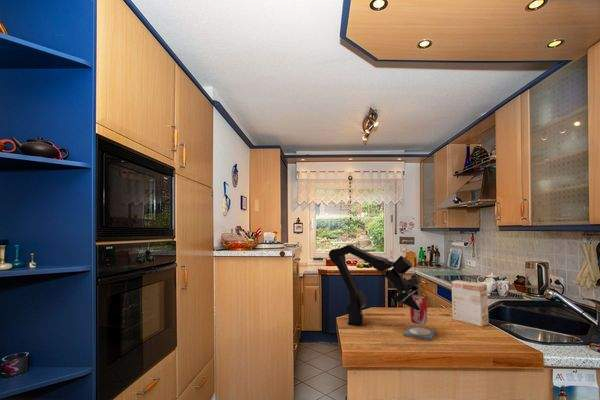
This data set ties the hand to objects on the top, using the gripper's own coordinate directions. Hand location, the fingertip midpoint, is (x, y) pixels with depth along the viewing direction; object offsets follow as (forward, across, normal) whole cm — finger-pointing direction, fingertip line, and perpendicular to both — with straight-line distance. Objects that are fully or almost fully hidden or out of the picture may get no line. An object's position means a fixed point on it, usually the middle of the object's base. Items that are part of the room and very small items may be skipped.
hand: (421, 308), depth 150 cm
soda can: (+4, 0, +6) cm, 7 cm away
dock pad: (+8, +2, +10) cm, 12 cm away
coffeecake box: (+19, +33, -2) cm, 38 cm away
